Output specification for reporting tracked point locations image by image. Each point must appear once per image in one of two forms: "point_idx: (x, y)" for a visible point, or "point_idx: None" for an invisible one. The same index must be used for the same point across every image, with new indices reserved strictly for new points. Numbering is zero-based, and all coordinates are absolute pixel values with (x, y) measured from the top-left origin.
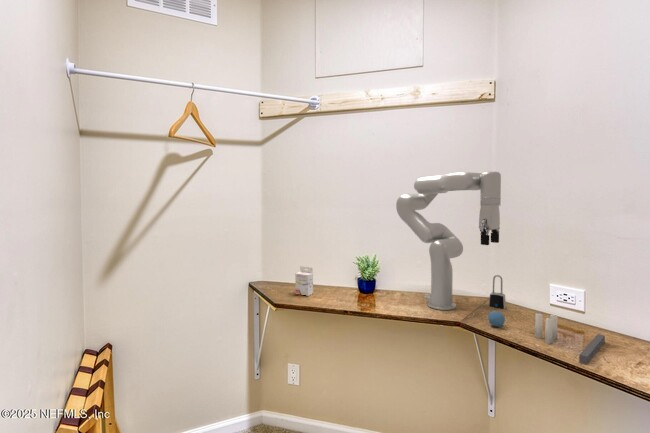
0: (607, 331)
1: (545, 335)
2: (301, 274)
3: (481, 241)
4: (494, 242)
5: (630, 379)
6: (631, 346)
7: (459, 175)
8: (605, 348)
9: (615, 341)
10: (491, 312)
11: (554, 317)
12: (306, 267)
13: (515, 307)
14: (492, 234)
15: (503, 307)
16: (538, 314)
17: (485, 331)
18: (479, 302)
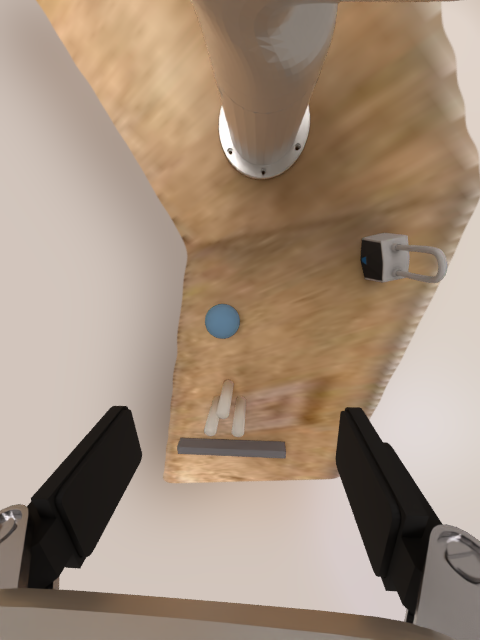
0: None
1: (212, 404)
2: None
3: (97, 431)
4: (342, 434)
5: (180, 474)
6: (294, 470)
7: None
8: None
9: (300, 456)
10: (214, 317)
11: (232, 432)
12: None
13: (400, 292)
14: (381, 509)
15: (366, 277)
16: (222, 412)
17: (180, 313)
18: (388, 196)
